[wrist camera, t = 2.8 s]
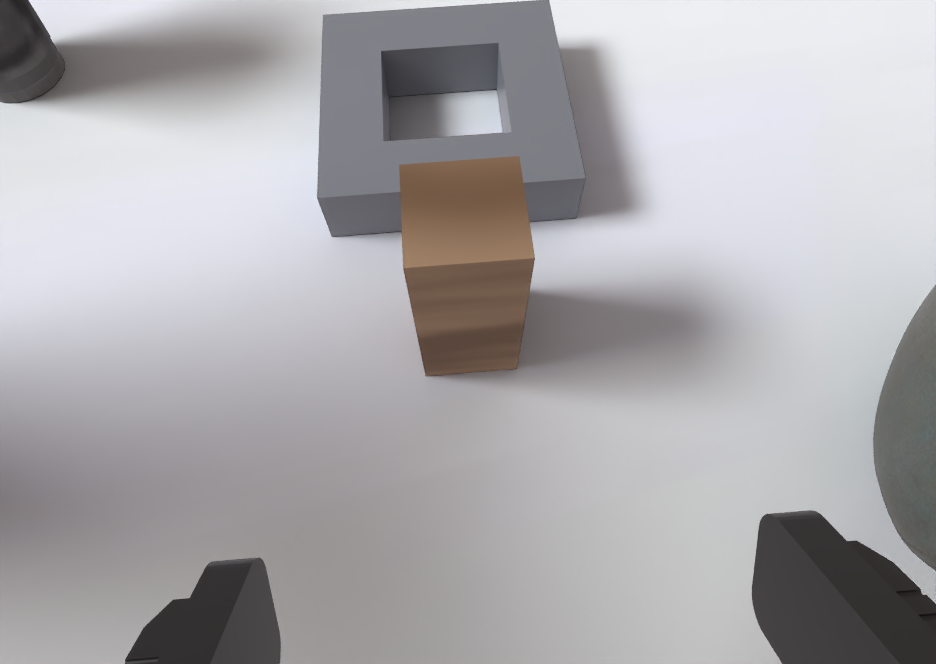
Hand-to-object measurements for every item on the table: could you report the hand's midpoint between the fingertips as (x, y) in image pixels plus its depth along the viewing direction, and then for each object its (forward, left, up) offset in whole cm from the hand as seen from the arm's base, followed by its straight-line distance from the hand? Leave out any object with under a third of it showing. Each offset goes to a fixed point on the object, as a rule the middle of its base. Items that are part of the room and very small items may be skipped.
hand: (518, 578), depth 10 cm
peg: (+10, +6, -14) cm, 18 cm away
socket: (+20, +12, -14) cm, 27 cm away
